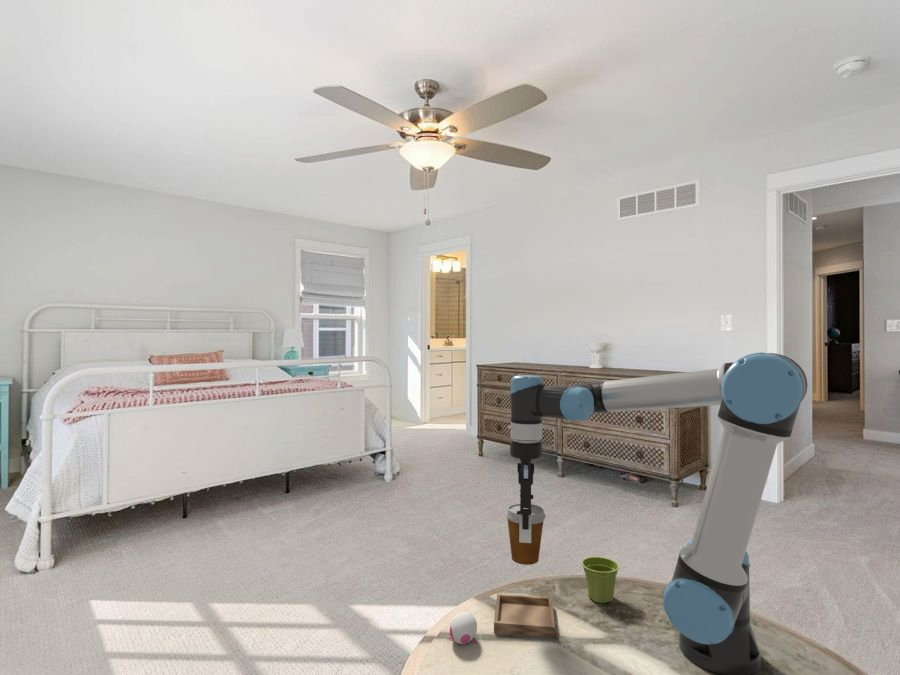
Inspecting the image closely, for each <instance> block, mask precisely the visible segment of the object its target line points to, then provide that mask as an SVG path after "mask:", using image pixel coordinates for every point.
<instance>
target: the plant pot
mask: <svg viewBox="0 0 900 675" xmlns="http://www.w3.org/2000/svg"><path fill="white" fill-rule="evenodd" d="M581 566H582V567H583V571H584V575H585V579H586V580H585V581H586V588H587V595H588V598H589V599H591V600H592V601H593V602H594V603H600V604H606V603H608V602H609V603H612V602H613V600H614V594H615V586H616V577H617V575H618V571H619V570H620V564H619V563H618V562H616V561H614V560H613V559H611V558H608V557H601V556H589V557H586V558H584V559H582V560H581Z"/></svg>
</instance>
